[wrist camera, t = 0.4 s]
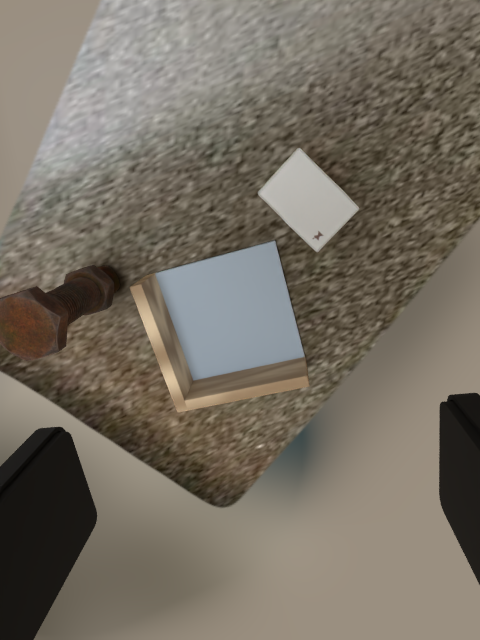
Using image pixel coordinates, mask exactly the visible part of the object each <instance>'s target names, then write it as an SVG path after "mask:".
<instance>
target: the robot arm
mask: <svg viewBox="0 0 480 640" xmlns="http://www.w3.org/2000/svg"><path fill="white" fill-rule="evenodd" d="M439 459H440V461H439V464H440V465H439V469H440V471H439V472H440V473H439V476H440V477H439V481H440V482H439V495H440V501H441V506H442V509H443V511H444V514H445V515H446V518H447V520H448V522H449V523H450V526H451V528H452V530H453V532H454V534H455V536H456V538H457V540H458V542H459V544H460V546H461V548H462V550H463V552H464V554H465V556H466V558H467V560H468V562H469V564H470V566H471V568H472V570H473V572H474V574H475V576H476V578H477V580H478V582H479V584H480V395H479V394H477V393H468V394H455V395H449V396H448V399H447V402H441V404H440V458H439ZM96 520H97V512H96V508H95V505H94V502H93V499H92V496H91V493H90V490H89V487H88V484H87V481H86V478H85V475H84V472H83V469H82V466H81V463H80V460H79V457H78V454H77V451H76V448H75V445H74V442H73V439H72V437H71V434H70V433H69V432H66V431H65V430H64V429H63V428H62V427H51V428H41V429H38V430H36V431H35V432H34V433H33V434H32V435H31V436H30V437H29V438H28V439H27V440H26V441H25V442H24V443H23V444H22V445H21V446H20V447H19V448H18V449H17V450H16V451H15V452H14V453H13V454H12V455H11V456H10V457H9V458H8V459H7V460H6V461H5V462H4V463H3V464H2V465H1V466H0V640H33V639H34V638H35V636H36V634H37V632H38V630H39V628H40V626H41V624H42V623H43V621H44V619H45V617H46V615H47V614H48V612H49V610H50V608H51V606H52V604H53V602H54V600H55V599H56V597H57V595H58V593H59V591H60V590H61V588H62V586H63V584H64V582H65V580H66V578H67V577H68V575H69V573H70V571H71V569H72V567H73V565H74V564H75V562H76V560H77V558H78V556H79V554H80V552H81V551H82V549H83V547H84V545H85V543H86V542H87V540H88V538H89V536H90V534H91V532H92V531H93V529H94V527H95V524H96Z"/></svg>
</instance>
